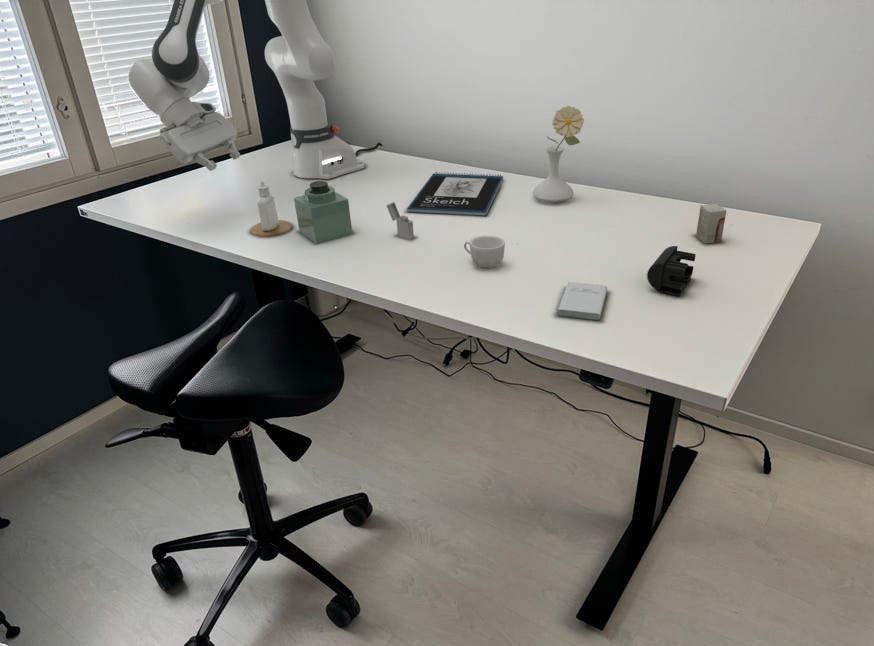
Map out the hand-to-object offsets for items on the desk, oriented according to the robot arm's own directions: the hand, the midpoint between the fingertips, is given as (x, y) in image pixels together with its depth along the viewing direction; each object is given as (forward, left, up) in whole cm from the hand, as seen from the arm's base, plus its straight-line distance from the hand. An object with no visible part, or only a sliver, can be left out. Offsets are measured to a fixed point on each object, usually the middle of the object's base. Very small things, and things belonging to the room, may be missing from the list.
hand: (226, 162), depth 169 cm
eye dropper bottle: (-5, +8, -16) cm, 19 cm away
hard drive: (-39, +87, -17) cm, 97 cm away
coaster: (-5, +8, -16) cm, 19 cm away
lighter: (-29, +33, -17) cm, 48 cm away
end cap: (-59, +92, -17) cm, 111 cm away
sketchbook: (-57, +18, -17) cm, 63 cm away
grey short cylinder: (-15, +19, -6) cm, 25 cm away
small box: (-85, +82, -17) cm, 120 cm away
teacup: (-35, +59, -17) cm, 71 cm away
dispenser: (-15, +19, -16) cm, 30 cm away
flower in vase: (-76, +38, -17) cm, 87 cm away
